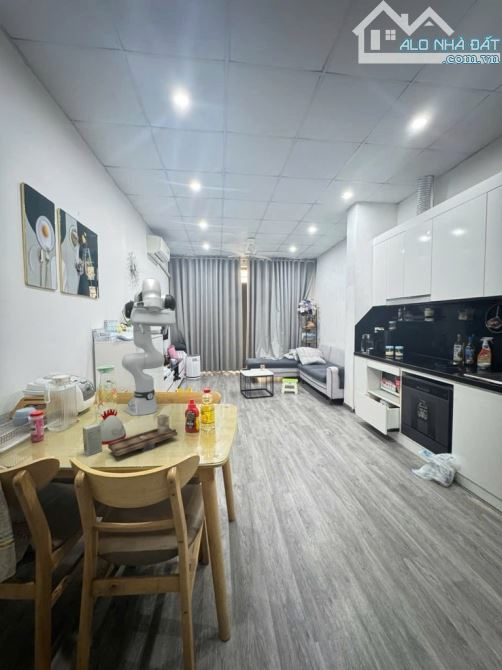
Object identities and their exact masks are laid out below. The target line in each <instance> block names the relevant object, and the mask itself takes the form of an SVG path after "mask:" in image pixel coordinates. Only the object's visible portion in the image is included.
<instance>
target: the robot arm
mask: <svg viewBox="0 0 502 670" xmlns="http://www.w3.org/2000/svg"><path fill="white" fill-rule="evenodd" d="M176 306H177V305H176V299H175V297H174V296H173V295H172V294H162V289H161V284H160V282H159V280H158V279H156V278H149V277H148V278H144V279H143V280H142V285H141V290H139V291H137V292H136V293H135V294H134V296H133V300H130V301H128V302H126V303H125V304H124V307H123V314H124V317H125V318H126V319H129V324H130V325H131V326H133V328H132V330H133V332H132V334H133V337H132V338H133V345H135V347H137V348H139V349H142V350H143V351H144V352H134V353H133V352H132V353H128V354H125V355H124V356H123V358H122V359H121V365H122V367H123V369H125V370H126V371H127V372H128V373H130V374H131V375H132V378H133V379H134V384H135V390H134V391H133V397H132V398H131V399H130V400H129V401H128V403H127V406H128V407H126V408H124V411H125V413H127V414H129V415H130V416H132V417H133V416H145V415H150V414H154V413H155V412H157V411H158V408H159V406H158V405H157V397H156V396H155V395H156V393H155V392H156V391H155V387H154V382H155V381H154V378H153V376H152V375H150V374H148V373H145V372H144V370H153V369H159V368H161V367H163V365H164V364H165V362H166V361H165V356H164V354H163V352H160V351H158V350H157V348H156V347H155V345H154V344H153V337H152V328H151V327H163V328H164V329H162V335H165V336H166V335H167V333H168V332H167V331H168V329H169V327H170V328H173V327H174V326H175V325H176V324H177V320H176V311H175V310H176Z"/></svg>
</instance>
